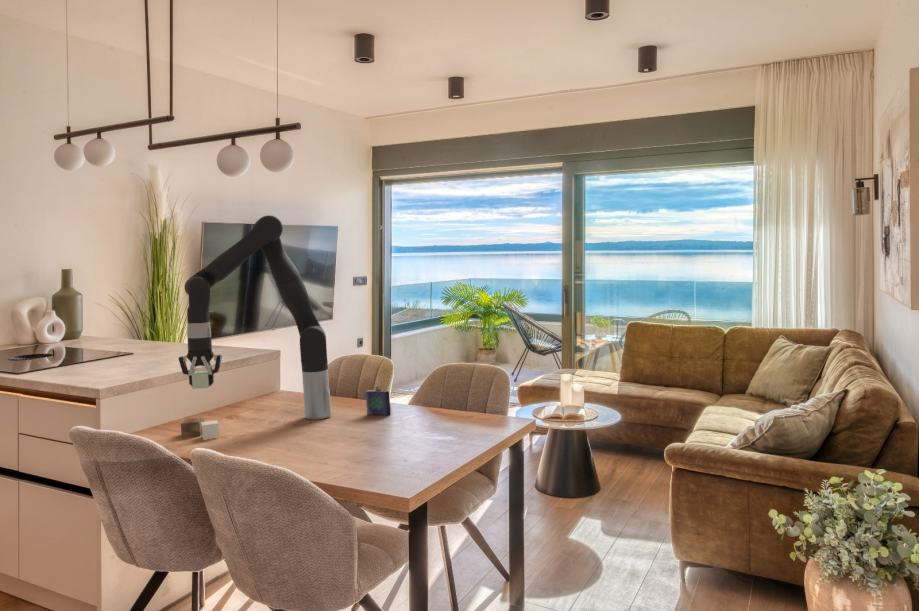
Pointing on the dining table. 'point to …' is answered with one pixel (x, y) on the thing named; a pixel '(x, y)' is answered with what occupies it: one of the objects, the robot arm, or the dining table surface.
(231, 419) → the dining table surface
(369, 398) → the flask
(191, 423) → the walnut block
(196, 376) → the sage block
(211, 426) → the cream block
